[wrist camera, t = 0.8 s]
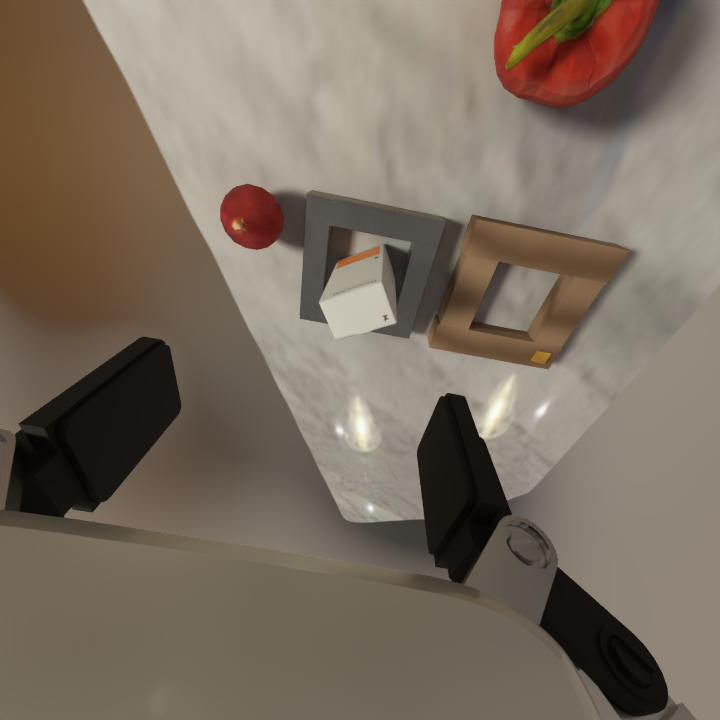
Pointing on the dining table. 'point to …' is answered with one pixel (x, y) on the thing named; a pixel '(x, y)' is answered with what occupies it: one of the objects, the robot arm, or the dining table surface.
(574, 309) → the frame
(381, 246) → the skincare box
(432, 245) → the gray square frame
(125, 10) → the dining table surface
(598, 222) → the dining table surface
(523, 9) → the vegetable
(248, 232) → the onion
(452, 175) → the dining table surface
